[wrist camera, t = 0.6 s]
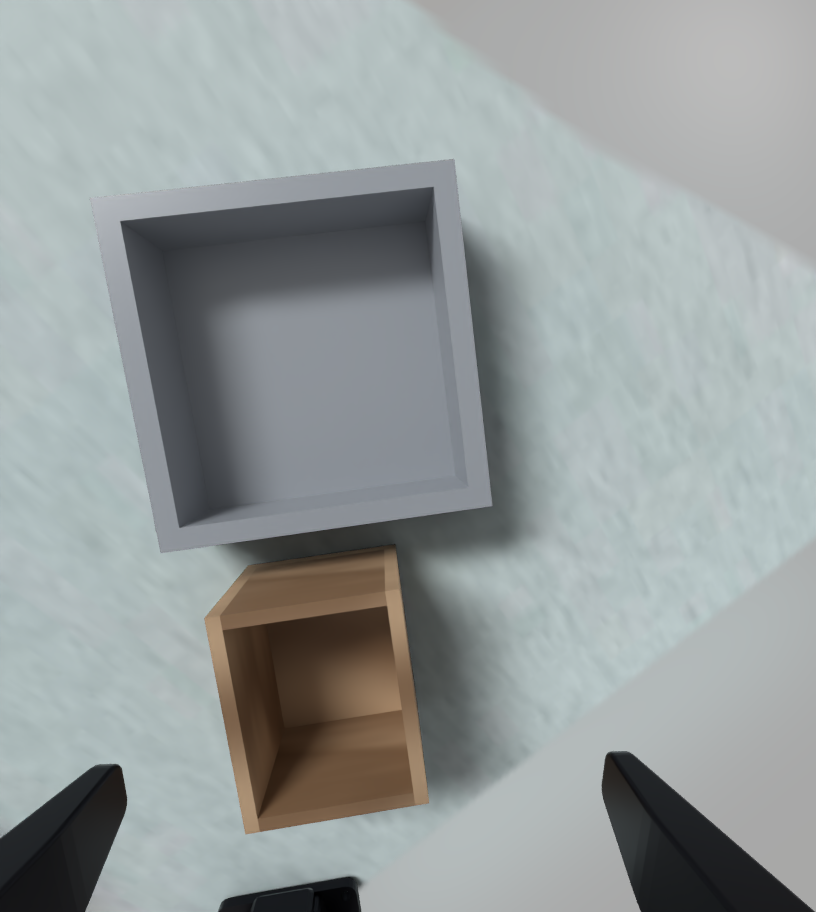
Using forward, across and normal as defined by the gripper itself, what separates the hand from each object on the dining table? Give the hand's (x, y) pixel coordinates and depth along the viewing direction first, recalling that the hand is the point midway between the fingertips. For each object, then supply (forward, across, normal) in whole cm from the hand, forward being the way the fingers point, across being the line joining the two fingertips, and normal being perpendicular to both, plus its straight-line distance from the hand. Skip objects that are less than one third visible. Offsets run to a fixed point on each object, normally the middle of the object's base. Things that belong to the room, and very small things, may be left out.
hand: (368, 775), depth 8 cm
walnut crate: (+11, +2, +5) cm, 13 cm away
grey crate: (+13, +3, -7) cm, 15 cm away
